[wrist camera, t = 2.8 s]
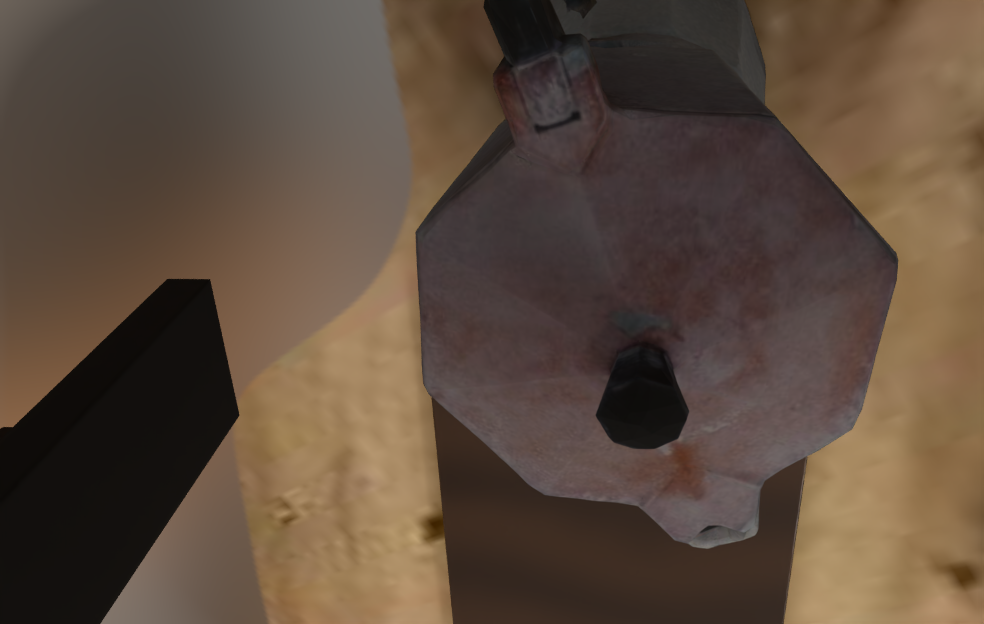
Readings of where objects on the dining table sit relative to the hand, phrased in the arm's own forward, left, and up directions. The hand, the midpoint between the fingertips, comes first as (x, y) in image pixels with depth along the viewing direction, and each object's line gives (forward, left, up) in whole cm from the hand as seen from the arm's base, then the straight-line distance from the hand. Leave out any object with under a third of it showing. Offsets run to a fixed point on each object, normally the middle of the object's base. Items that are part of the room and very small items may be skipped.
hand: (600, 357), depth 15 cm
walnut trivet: (+19, 0, -20) cm, 27 cm away
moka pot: (0, 0, -20) cm, 20 cm away
